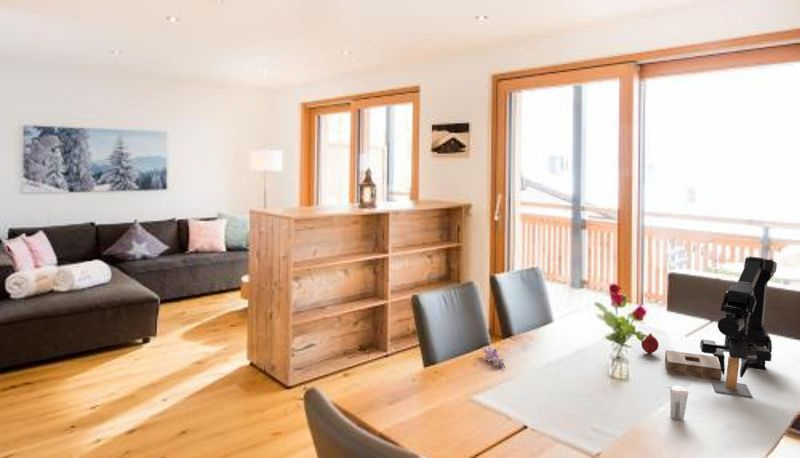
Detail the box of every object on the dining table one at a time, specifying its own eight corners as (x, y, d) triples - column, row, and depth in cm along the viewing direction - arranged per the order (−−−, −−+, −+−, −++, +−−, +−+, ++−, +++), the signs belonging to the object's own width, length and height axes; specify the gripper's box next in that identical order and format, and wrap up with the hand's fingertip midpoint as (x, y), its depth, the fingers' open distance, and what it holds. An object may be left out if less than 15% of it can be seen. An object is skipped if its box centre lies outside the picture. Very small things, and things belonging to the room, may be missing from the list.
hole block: (715, 367, 188) (716, 356, 188) (720, 380, 177) (721, 369, 177) (664, 360, 194) (665, 350, 194) (667, 372, 183) (668, 361, 183)
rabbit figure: (508, 372, 186) (493, 350, 200) (510, 357, 184) (494, 336, 198) (492, 373, 185) (477, 351, 199) (493, 358, 183) (478, 337, 197)
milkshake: (662, 414, 153) (664, 381, 152) (679, 413, 154) (682, 380, 153) (671, 422, 149) (674, 388, 148) (689, 421, 149) (692, 387, 148)
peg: (735, 386, 172) (738, 356, 170) (737, 390, 169) (740, 360, 168) (724, 384, 173) (727, 355, 172) (726, 388, 170) (729, 358, 169)
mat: (745, 385, 174) (745, 384, 174) (752, 398, 164) (752, 396, 164) (710, 380, 177) (710, 379, 177) (715, 392, 168) (715, 391, 168)
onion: (659, 357, 197) (661, 336, 196) (642, 356, 199) (644, 335, 198) (655, 351, 203) (656, 331, 202) (639, 350, 204) (640, 330, 203)
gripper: (706, 332, 165) (702, 380, 167) (778, 340, 157) (773, 390, 159) (701, 322, 175) (697, 367, 177) (769, 329, 167) (764, 376, 170)
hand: (732, 375), depth 170 cm, fingers open, 5 cm apart
